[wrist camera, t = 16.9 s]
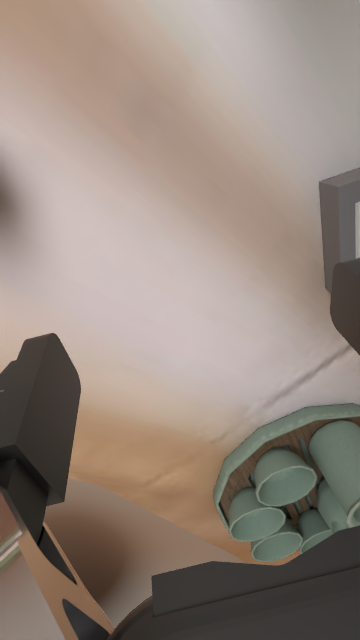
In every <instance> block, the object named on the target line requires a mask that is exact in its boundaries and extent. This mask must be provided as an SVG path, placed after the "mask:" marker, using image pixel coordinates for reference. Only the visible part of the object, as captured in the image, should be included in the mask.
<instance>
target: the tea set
mask: <svg viewBox="0 0 360 640" xmlns="http://www.w3.org/2000/svg"><path fill="white" fill-rule="evenodd" d="M213 499H214V503H215V506H216V508H217V510H218V512H219V514H220V516H221V519H222V521H223V523H224V525H225V527H226V528H227V529H229V530H228V531H229V533H230V536H231V538H232V539H235V540H237V541H240V542H251V555H252V557H253V559H254V560H257V561H260V562H272V561H276V560H279V559H283V558H285V557H287V556H289V555H291V554H292V553H294V552H295V551H296V550H297V549H298V548H299V551H300V554H302V553H304V552H305V551H307V550H309V549H310V548H312V547H313V546H315V545H316V544H318V543H320V542H321V541H323V540H324V539H326V538H328V537H329V536H331V535H332V534H334V533H335V532H337V531H339V530H343V529H347V528H351V527H355V526H359V525H360V407H359V406H357V405H355V404H340V405H328V406H316V407H306V408H304V409H301V410H299V411H297V412H295V413H292V414H290V415H288V416H285V417H283V418H281V419H279V420H276V421H274V422H272V423H270V424H267V425H265V426H263V427H261V428H258V429H257V430H256V431H255V432H254V433H253V434H252V435H251V436H250V437H249V438H248V439H247V440H245V441H244V442H243V443H242V444H241V445H240V446H239V447H238V448H237V449H236V450H235V451H234V452H232V453H231V454H230V455H229V456H228V457H227V458H226V459H225V461H224V463H223V466H222V469H221V472H220V474H219V477H218V480H217V483H216V485H215V488H214V492H213Z"/></svg>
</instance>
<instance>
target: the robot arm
mask: <svg viewBox="0 0 360 640" xmlns="http://www.w3.org/2000/svg"><path fill="white" fill-rule="evenodd" d="M330 314H331V318H332V321H333V324H334V326H335V328H336V329H337V330H338V331H339V333H340V334H341V335H342V336H343V337H344V338H345V339H346V340H347V342H348V343H349V344H350V345H351V346H352V347H353V348H354V349H355V351H356V352H357V353H358V354H359V355H360V258H356V259H352V260H347V261H343V262H339V263H337V264H336V265H335V267H334V269H333V278H332V291H331V304H330ZM80 393H81V385H80V379H79V376H78V373H77V371H76V369H75V367H74V365H73V363H72V361H71V359H70V358H69V356H68V354H67V352H66V350H65V348H64V347H63V345H62V343H61V341H60V339H59V338H58V336H57V335H56V334H54V333H50V334H46V335H42V336H38V337H34V338H30V339H27V340H25V341H24V343H23V345H22V348H21V350H20V353H19V355H18V358H17V360H15V361H11V362H10V363H9V365H8V366H7V367H6V368H5V369H4V370H3V371H2V373H1V374H0V640H360V525H359V526H355V527H351V528H347V529H343V530H339V531H337V532H335V533H334V534H332V535H331V536H329V537H328V538H326V539H324V540H323V541H321V542H320V543H318V544H316V545H315V546H313V547H312V548H310V549H309V550H307V551H305V552H304V553H302V554H301V555H299V556H298V557H296V558H294V559H293V560H291V561H290V562H288V563H286V564H284V565H280V566H272V565H258V564H243V563H230V562H216V561H211V562H207V563H203V564H199V565H195V566H191V567H187V568H183V569H179V570H174V571H170V572H166V573H162V574H158V575H154V576H152V596H151V597H149V598H147V599H146V600H145V601H143V602H142V603H141V604H140V605H138V606H137V607H136V608H135V609H133V610H132V611H131V612H130V613H129V614H128V615H127V616H126V617H125V619H123V621H121V623H119V625H118V626H117V627H116V628H114V627H113V625H112V624H111V622H110V621H109V619H108V618H107V616H106V615H105V613H104V612H103V610H102V609H101V608H100V607H99V605H98V604H97V603H96V602H95V600H94V599H93V598H92V597H91V595H90V594H89V593H88V591H87V590H86V588H85V587H84V585H83V584H82V582H81V580H80V579H79V577H78V575H77V574H76V572H75V571H74V569H73V567H72V566H71V564H70V562H69V561H68V559H67V557H66V556H65V554H64V552H63V551H62V549H61V547H60V546H59V544H58V543H57V541H56V539H55V538H54V536H53V535H52V533H51V531H50V529H49V528H48V526H47V525H46V524H45V522H44V521H43V519H44V515H45V509H46V506H49V505H53V504H57V503H61V502H64V499H65V493H66V485H67V479H68V473H69V466H70V459H71V453H72V446H73V440H74V433H75V426H76V420H77V413H78V406H79V400H80Z"/></svg>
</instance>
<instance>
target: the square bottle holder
mask: <svg viewBox="0 0 360 640" xmlns="http://www.w3.org/2000/svg"><path fill="white" fill-rule="evenodd" d="M319 190H320V206H321V222H322V239H323V255H324V271H325V287H326V289H327V290H329V291H330V292H331V291H332V278H333V269H334V267H335V265H336V264H337V263H339V262H343V261H347V260H352V259H356V258H360V168H357V169H354V170H352V171H349V172H346V173H343V174H340V175H337V176H334V177H332V178H329V179H326V180H323V181H320V182H319Z"/></svg>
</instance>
